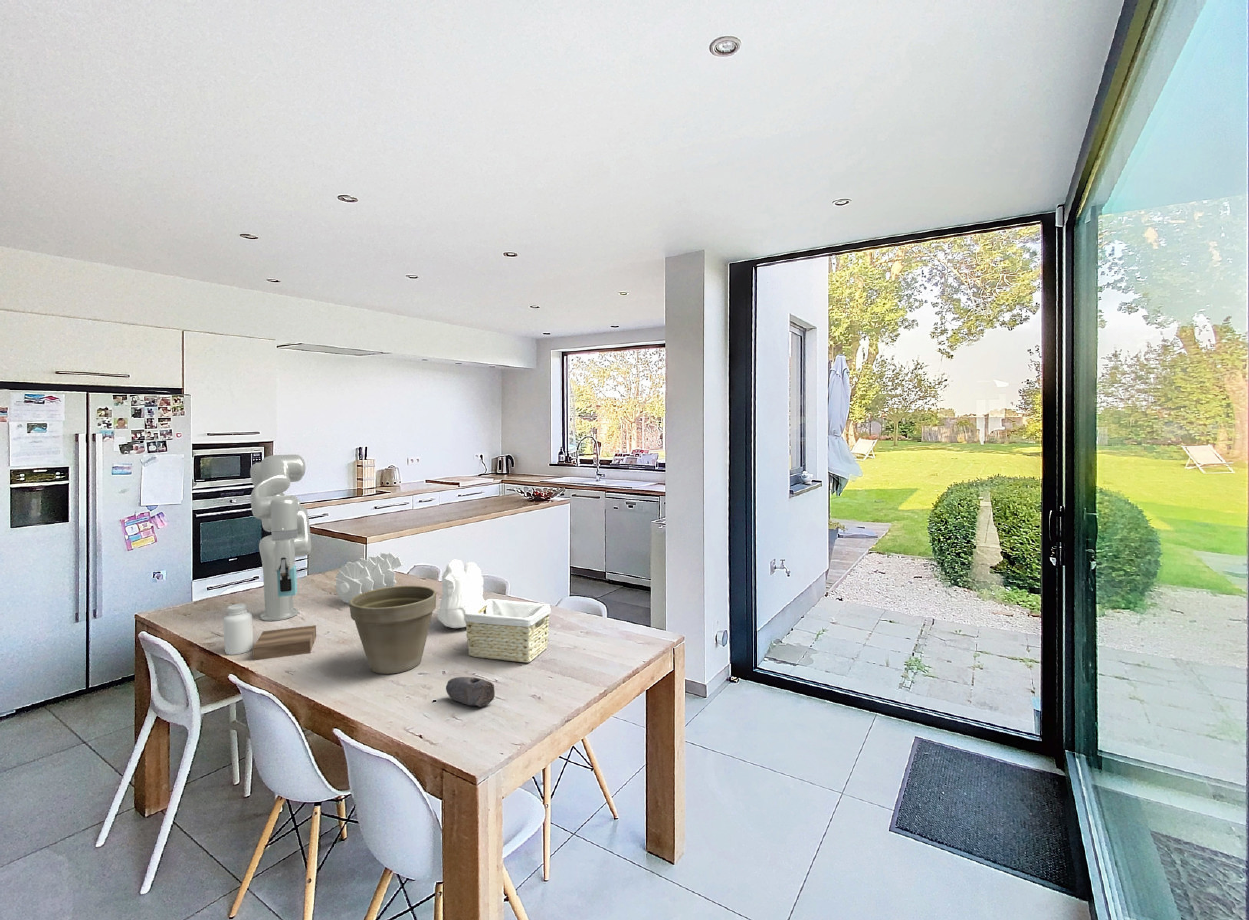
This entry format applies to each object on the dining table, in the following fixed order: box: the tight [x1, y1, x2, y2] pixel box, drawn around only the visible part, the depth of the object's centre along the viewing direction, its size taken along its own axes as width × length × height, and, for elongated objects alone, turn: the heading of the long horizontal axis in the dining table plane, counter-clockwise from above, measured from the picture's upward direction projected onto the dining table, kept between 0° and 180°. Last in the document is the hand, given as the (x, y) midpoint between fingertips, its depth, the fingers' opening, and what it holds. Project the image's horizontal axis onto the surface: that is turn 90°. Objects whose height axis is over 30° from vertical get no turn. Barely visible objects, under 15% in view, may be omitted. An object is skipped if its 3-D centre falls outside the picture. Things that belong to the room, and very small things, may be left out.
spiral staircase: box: [334, 551, 403, 605], centre depth 253 cm, size 18×18×25 cm
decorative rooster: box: [437, 559, 485, 629], centre depth 222 cm, size 25×16×25 cm, turn 154°
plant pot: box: [349, 585, 437, 675], centre depth 184 cm, size 25×25×22 cm
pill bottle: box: [222, 603, 254, 656], centre depth 196 cm, size 8×8×15 cm
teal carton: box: [277, 564, 298, 597], centre depth 201 cm, size 5×5×9 cm
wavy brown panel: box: [252, 625, 317, 661], centre depth 199 cm, size 16×16×4 cm
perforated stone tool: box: [445, 676, 496, 708], centre depth 159 cm, size 15×5×7 cm, turn 62°
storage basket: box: [464, 598, 552, 663], centre depth 194 cm, size 24×16×15 cm
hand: (287, 588), depth 201 cm, fingers closed on teal carton, 5 cm apart
